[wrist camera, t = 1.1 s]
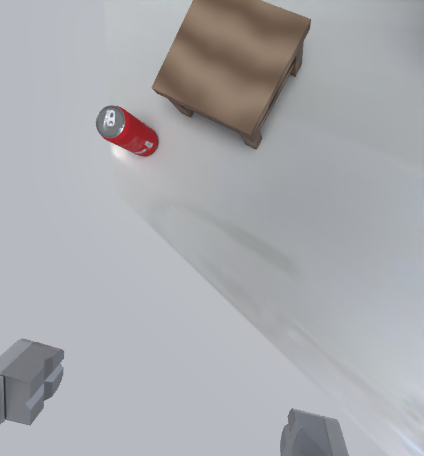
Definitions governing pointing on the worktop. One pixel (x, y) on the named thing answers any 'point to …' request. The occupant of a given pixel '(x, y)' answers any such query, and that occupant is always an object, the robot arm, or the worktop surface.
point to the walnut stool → (232, 62)
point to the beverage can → (126, 131)
